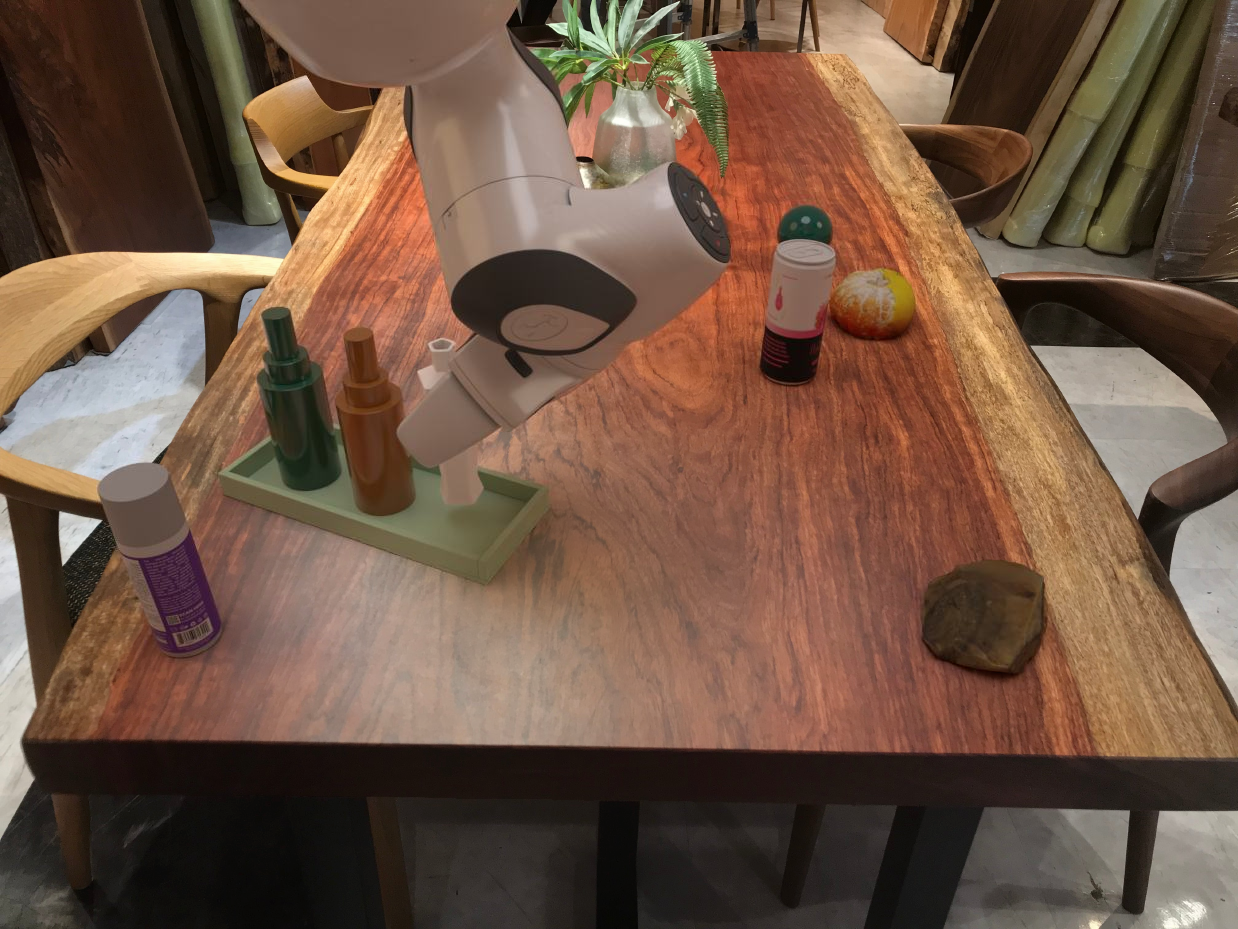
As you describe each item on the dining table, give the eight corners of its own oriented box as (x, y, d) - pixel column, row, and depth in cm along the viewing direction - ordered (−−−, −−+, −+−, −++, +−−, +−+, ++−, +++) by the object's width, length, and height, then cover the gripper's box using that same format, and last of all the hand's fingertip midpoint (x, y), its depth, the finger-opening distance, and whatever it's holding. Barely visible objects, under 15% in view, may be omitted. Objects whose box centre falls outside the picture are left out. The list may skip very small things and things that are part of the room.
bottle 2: (392, 522, 80) (365, 356, 70) (341, 506, 82) (307, 341, 72) (428, 488, 84) (406, 326, 74) (378, 473, 86) (351, 312, 76)
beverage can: (826, 380, 103) (849, 257, 94) (777, 391, 101) (795, 266, 92) (796, 354, 108) (815, 235, 99) (749, 364, 106) (763, 243, 97)
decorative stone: (1039, 695, 67) (1054, 663, 64) (911, 656, 69) (922, 624, 67) (1043, 602, 74) (1056, 571, 72) (928, 570, 77) (938, 540, 75)
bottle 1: (316, 497, 83) (279, 333, 73) (268, 481, 84) (225, 319, 74) (354, 465, 87) (324, 305, 77) (308, 451, 89) (272, 293, 79)
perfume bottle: (423, 498, 78) (398, 350, 69) (455, 472, 81) (436, 326, 72) (464, 516, 76) (444, 366, 67) (495, 489, 79) (480, 341, 70)
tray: (549, 508, 83) (549, 486, 82) (486, 585, 75) (484, 563, 73) (305, 433, 92) (300, 412, 91) (223, 494, 84) (217, 473, 82)
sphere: (767, 264, 129) (774, 210, 124) (780, 245, 135) (787, 193, 130) (822, 274, 127) (831, 219, 122) (833, 254, 133) (842, 201, 128)
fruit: (833, 293, 121) (861, 242, 116) (903, 329, 119) (935, 279, 114) (812, 326, 112) (841, 272, 107) (887, 365, 111) (920, 313, 106)
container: (230, 612, 71) (180, 460, 63) (212, 657, 68) (156, 502, 59) (170, 614, 71) (111, 461, 62) (148, 658, 67) (82, 503, 59)
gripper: (583, 249, 72) (486, 332, 81) (443, 362, 57) (342, 449, 66) (632, 310, 73) (531, 385, 82) (508, 437, 58) (401, 513, 67)
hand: (446, 415), depth 74 cm, fingers closed on perfume bottle, 4 cm apart
